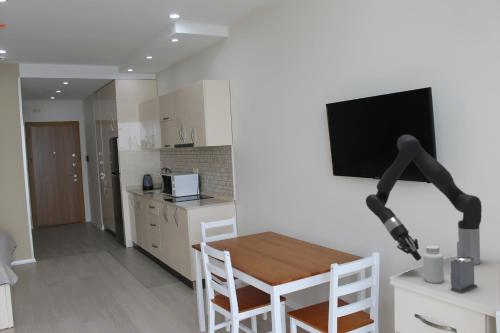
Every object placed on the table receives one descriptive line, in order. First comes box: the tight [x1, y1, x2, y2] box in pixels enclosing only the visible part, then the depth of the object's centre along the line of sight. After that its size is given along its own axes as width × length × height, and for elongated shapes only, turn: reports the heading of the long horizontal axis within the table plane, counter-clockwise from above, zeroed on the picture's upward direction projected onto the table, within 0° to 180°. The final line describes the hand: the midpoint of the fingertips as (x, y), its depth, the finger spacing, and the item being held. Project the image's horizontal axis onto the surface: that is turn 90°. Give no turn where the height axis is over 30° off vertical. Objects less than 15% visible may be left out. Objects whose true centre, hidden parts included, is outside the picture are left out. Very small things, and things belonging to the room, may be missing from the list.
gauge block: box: [449, 255, 478, 295], centre depth 177 cm, size 6×11×13 cm, turn 123°
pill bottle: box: [422, 245, 445, 284], centre depth 188 cm, size 8×8×15 cm
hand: (419, 259), depth 194 cm, fingers closed
